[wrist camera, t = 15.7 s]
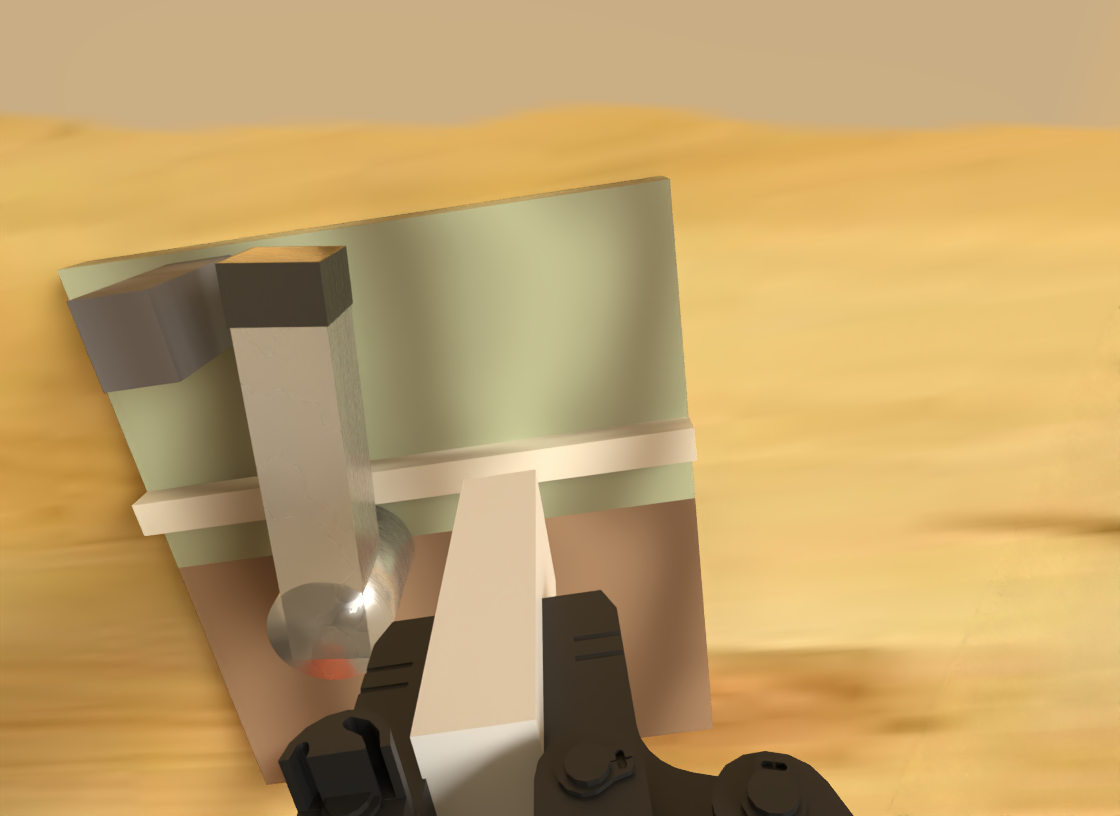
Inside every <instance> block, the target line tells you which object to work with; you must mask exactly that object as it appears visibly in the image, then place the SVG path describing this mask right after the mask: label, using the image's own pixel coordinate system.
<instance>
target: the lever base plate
mask: <svg viewBox="0 0 1120 816" xmlns="http://www.w3.org/2000/svg"><path fill="white" fill-rule="evenodd" d="M282 246H346V248H347V256H348V265H349V273H350V281H351V290H352V298H353V304H352V305H351V309H352V317H353V325H354V333H355V341H356V350H357V358H358V366H359V374H360V382H361V391H362V399H363V407H364V415H365V424H366V432H367V440H368V448H369V456H370V465H371V473H372V481H373V489H374V497H375V505H376V506H379V507H382V508H384V509H386V510H388V511H390V512H392V513H393V514H395V515H396V516H397V517H398V518H400V519H401V520H402V521H403V522H404V524H405V525H406V526H407V528H408V529H409V531H410V533H411V535H412V538H413V542H414V558H413V561H412V565H411V568H410V571H409V575H408V578H407V581H406V585H405V588H404V592H403V595H402V598H401V602H400V605H399V608H398V612H397V615H396V618H395V621H401V620H408V619H415V618H422V617H429V616H435V614H436V609H437V604H438V599H439V594H440V589H441V585H442V580H443V575H444V570H445V565H446V560H447V556H448V551H449V546H450V541H451V536H452V531H453V527H454V522H455V517H456V512H457V507H458V503H459V498H460V493H461V488H462V483H463V480H467V479H474V478H480V477H487V476H494V475H501V474H507V473H514V472H521V471H528V470H535V469H536V474H537V480H538V485H539V491H540V496H541V502H542V507H543V513H544V519H545V524H546V530H547V535H548V541H549V547H550V552H551V558H552V563H553V569H554V575H555V580H556V596H561V595H568V594H575V593H582V592H589V591H596V590H602V591H603V593H604V594H605V595H606V596H607V597H608V598H609V599H610V601H611V602H612V603H613V604H614V605H615V606H616V607H617V612H618V618H619V624H620V630H621V636H622V641H623V647H624V654H625V659H626V665H627V671H628V677H629V683H630V689H631V694H632V700H633V706H634V712H635V718H636V724H637V728H638V731H639V734H640V737H641V738H642V737H650V736H658V735H666V734H674V733H682V732H690V731H698V730H706V729H713V720H712V707H711V694H710V682H709V669H708V656H707V644H706V631H705V619H704V606H703V593H702V581H701V568H700V555H699V543H698V530H697V517H696V505H695V492H694V479H693V467H692V461H697V456H696V443H695V430H694V426H693V424H692V422H691V420H690V418H689V416H688V404H687V391H686V378H685V366H684V353H683V340H682V328H681V315H680V302H679V290H678V277H677V265H676V252H675V239H674V227H673V214H672V201H671V189H670V179H668V178H666V177H664V176H657V177H651V178H644V179H637V180H630V181H624V182H617V183H610V184H604V185H597V186H590V187H583V188H577V189H570V190H563V191H557V192H550V193H543V194H537V195H530V196H523V197H516V198H510V199H503V200H496V201H490V202H483V203H476V204H469V205H463V206H456V207H449V208H443V209H436V210H429V211H423V212H416V213H409V214H402V215H396V216H389V217H382V218H376V219H369V220H362V221H355V222H349V223H342V224H335V225H329V226H322V227H315V228H309V229H302V230H295V231H288V232H282V233H275V234H268V235H262V236H255V237H248V238H241V239H235V240H228V241H221V242H215V243H208V244H201V245H195V246H188V247H181V248H174V249H168V250H161V251H154V252H148V253H141V254H134V255H128V256H121V257H114V258H107V259H101V260H94V261H87V262H83V263H80V264H77V265H73V266H70V267H67V268H63V269H60V270H57V271H58V274H59V276H60V279H61V281H62V284H63V286H64V289H65V291H66V293H67V296H68V298H69V301H67V304H68V306H69V309H70V311H71V314H72V316H73V318H74V321H75V323H76V326H77V328H78V331H79V333H80V336H81V338H82V340H83V343H84V345H85V348H86V350H87V353H88V355H89V358H90V360H91V362H92V365H93V367H94V370H95V372H96V375H97V377H98V380H99V382H100V384H101V387H102V389H103V392H104V393H107V394H108V397H109V399H110V402H111V404H112V406H113V409H114V411H115V414H116V416H117V419H118V421H119V424H120V426H121V429H122V431H123V434H124V436H125V438H126V441H127V443H128V446H129V448H130V451H131V453H132V456H133V458H134V461H135V463H136V465H137V468H138V470H139V473H140V475H141V478H142V480H143V483H144V485H145V488H146V490H147V492H146V493H145V494H144V495H143V496H142V497H141V498H140V499H138V500H137V501H136V502H135V503H134V504H133V505H132V508H133V510H134V513H135V515H136V517H137V520H138V522H139V524H140V527H141V529H142V532H143V534H144V536H149V535H157V534H165V537H166V539H167V542H168V544H169V547H170V549H171V551H172V554H173V556H174V559H175V561H176V564H177V566H178V569H179V571H180V574H181V576H182V578H183V581H184V583H185V586H186V588H187V591H188V593H189V596H190V598H191V601H192V603H193V605H194V608H195V610H196V613H197V615H198V618H199V620H200V623H201V625H202V628H203V630H204V633H205V635H206V637H207V640H208V642H209V645H210V647H211V650H212V652H213V655H214V657H215V660H216V662H217V664H218V667H219V669H220V672H221V674H222V677H223V679H224V682H225V684H226V687H227V689H228V691H229V694H230V696H231V699H232V701H233V704H234V706H235V709H236V711H237V714H238V716H239V718H240V721H241V723H242V726H243V728H244V731H245V733H246V736H247V738H248V741H249V743H250V746H251V748H252V750H253V753H254V755H255V758H256V760H257V763H258V765H259V768H260V770H261V773H262V775H263V777H264V780H265V782H266V785H267V784H275V783H283V782H286V780H285V778H284V775H283V773H282V770H281V768H280V765H279V763H278V760H279V759H280V757H281V756H282V754H283V752H284V751H285V749H286V748H287V746H288V744H289V743H290V742H291V741H292V740H293V739H294V738H295V737H296V736H297V735H299V734H300V733H301V732H302V731H303V730H304V729H305V728H306V727H308V726H310V725H311V724H313V723H315V722H317V721H318V720H320V719H322V718H324V717H326V716H328V715H331V714H335V713H338V712H342V711H345V710H354V707H355V704H356V700H357V697H358V694H360V688H361V685H362V681H363V678H364V675H365V673H367V671H366V672H365V673H363V674H360V675H358V676H355V677H352V678H347V679H339V680H328V679H320V678H316V677H312V676H309V675H306V674H303V673H301V672H299V671H297V670H295V669H294V668H292V667H291V666H289V665H288V664H287V663H285V662H284V661H283V660H282V659H281V658H280V657H279V656H278V654H277V653H276V652H275V650H274V649H273V647H272V645H271V643H270V641H269V638H268V634H267V618H268V614H269V612H270V609H271V607H272V605H273V604H274V602H275V600H276V598H277V597H278V595H279V593H280V590H279V585H278V580H277V575H276V569H275V564H274V559H273V553H272V548H271V543H270V537H269V532H268V527H267V522H266V516H265V511H264V506H263V500H262V495H261V490H260V484H259V479H258V474H257V469H256V463H255V458H254V453H253V447H252V442H251V437H250V431H249V426H248V421H247V416H246V410H245V405H244V400H243V394H242V389H241V384H240V379H239V373H238V368H237V363H236V357H235V352H234V347H233V341H232V336H231V331H230V328H227V325H226V320H225V315H224V310H223V304H222V299H221V294H220V289H219V283H218V278H217V273H216V268H215V263H217V262H219V261H222V260H224V259H227V258H229V257H231V256H234V255H236V254H238V253H241V252H243V251H246V250H248V249H250V248H253V247H282Z"/></svg>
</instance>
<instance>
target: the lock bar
mask: <svg viewBox="0 0 1120 816" xmlns="http://www.w3.org/2000/svg"><path fill="white" fill-rule="evenodd" d="M215 268H216V273H217V278H218V283H219V289H220V294H221V299H222V304H223V310H224V315H225V320H226V325H227V328H230V331H231V336H232V341H233V347H234V352H235V357H236V363H237V368H238V373H239V379H240V384H241V389H242V394H243V400H244V405H245V410H246V416H247V421H248V426H249V431H250V437H251V442H252V447H253V453H254V458H255V463H256V469H257V474H258V479H259V484H260V490H261V495H262V500H263V506H264V511H265V516H266V522H267V527H268V532H269V537H270V543H271V548H272V553H273V559H274V564H275V569H276V575H277V580H278V585H279V590H280V593H279V595H278V597H277V598H276V600H275V602H274V604H273V605H272V607H271V609H270V612H269V614H268V618H267V634H268V638H269V641H270V643H271V645H272V647H273V649H274V650H275V652H276V653H277V654H278V656H279V657H280V658H281V659H282V660H283V661H284V662H285V663H287V664H288V665H289V666H291V667H292V668H294V669H295V670H297V671H299V672H301V673H303V674H306V675H309V676H312V677H316V678H320V679H328V680H339V679H347V678H352V677H355V676H358V675H360V674H363V673H365V672H366V671H367V665H368V662H369V659H370V656H371V653H372V650H373V646H374V644H375V643H376V641H377V640H378V639H379V638H380V637H381V635H382V634H383V633H384V632H385V631H386V629H387V628H388V627H389V626H390V625H391V623H392V622H394V621H395V618H396V615H397V612H398V608H399V605H400V602H401V598H402V595H403V592H404V588H405V585H406V581H407V578H408V575H409V571H410V568H411V565H412V561H413V558H414V542H413V538H412V535H411V533H410V531H409V529H408V528H407V526H406V525H405V524H404V522H403V521H402V520H401V519H400V518H398V517H397V516H396V515H395V514H393V513H392V512H390V511H388V510H386V509H384V508H382V507H379V506H376V505H375V497H374V489H373V481H372V473H371V465H370V456H369V448H368V440H367V432H366V424H365V415H364V407H363V399H362V391H361V382H360V374H359V366H358V358H357V350H356V341H355V333H354V325H353V317H352V309H351V305H352V304H353V298H352V290H351V281H350V273H349V265H348V256H347V248H346V246H282V247H253V248H250V249H248V250H246V251H243V252H241V253H238V254H236V255H234V256H231V257H229V258H227V259H224V260H222V261H219V262H217V263H215Z"/></svg>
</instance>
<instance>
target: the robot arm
mask: <svg viewBox="0 0 1120 816" xmlns="http://www.w3.org/2000/svg"><path fill="white" fill-rule="evenodd" d="M278 763H279V765H280V768H281V770H282V773H283V775H284V778H285V780H286V783H287V785H288V788H289V791H290V793H291V796H292V798H293V801H294V803H295V806H296V808H297V811H298V814H297V816H853V815H852V813H851V812H850V811H849V809H848V808H847V807H846V805H845V804H844V803H843V801H842V800H841V799H840V797H839V796H838V795H837V793H836V792H835V791H834V790H833V788H832V787H831V786H830V784H829V783H828V782H827V781H826V780H825V779H824V778H823V777H822V776H821V775H820V774H819V773H818V772H817V771H816V770H815V769H814V768H813V767H811V766H810V765H809V764H807V763H805V762H803V761H800V760H798V759H796V758H794V757H792V756H790V755H788V754H781V753H774V752H767V751H763V752H757V753H751V754H745V755H742V756H740V757H739V758H737V759H735V760H734V761H732V762H730V763H729V764H727V765H725V767H724V768H723V770H722V771H721V773H720V774H719V776H712V775H706V774H700V773H693V772H689V771H685V770H682V769H678V768H675V767H673V766H671V765H669V764H667V763H665V762H663V761H661V760H660V759H659V758H657V757H656V756H655V755H654V754H653V753H652V752H650V751H649V749H648V748H647V747H646V745H645V744H644V742H643V741H642V739H641V737H640V734H639V731H638V728H637V724H636V718H635V712H634V706H633V700H632V694H631V689H630V683H629V677H628V671H627V665H626V659H625V654H624V647H623V641H622V636H621V630H620V624H619V618H618V612H617V607H616V606H615V605H614V604H613V603H612V602H611V601H610V599H609V598H608V597H607V596H606V595H605V594H604V593H603V591H602V590H596V591H589V592H582V593H575V594H568V595H561V596H556V580H555V575H554V569H553V563H552V558H551V552H550V547H549V541H548V535H547V530H546V524H545V519H544V513H543V507H542V502H541V496H540V491H539V485H538V480H537V474H536V469H535V470H528V471H521V472H514V473H507V474H501V475H494V476H487V477H480V478H474V479H467V480H463V483H462V488H461V493H460V498H459V503H458V507H457V512H456V517H455V522H454V527H453V531H452V536H451V541H450V546H449V551H448V556H447V560H446V565H445V570H444V575H443V580H442V585H441V589H440V594H439V599H438V604H437V609H436V614H435V616H429V617H422V618H415V619H408V620H401V621H394V622H392V623H391V625H390V626H389V627H388V628H387V629H386V631H385V632H384V633H383V634H382V635H381V637H380V638H379V639H378V640H377V641H376V643H375V644H374V646H373V650H372V653H371V656H370V659H369V662H368V665H367V673H365V675H364V678H363V681H362V685H361V688H360V694H358V697H357V700H356V704H355V707H354V710H345V711H342V712H338V713H335V714H331V715H328V716H326V717H324V718H322V719H320V720H318V721H317V722H315V723H313V724H311V725H310V726H308V727H306V728H305V729H304V730H303V731H302V732H301V733H300V734H299V735H297V736H296V737H295V738H294V739H293V740H292V741H291V742H290V743H289V744H288V746H287V748H286V749H285V751H284V752H283V754H282V756H281V757H280V759H279V760H278Z"/></svg>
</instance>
